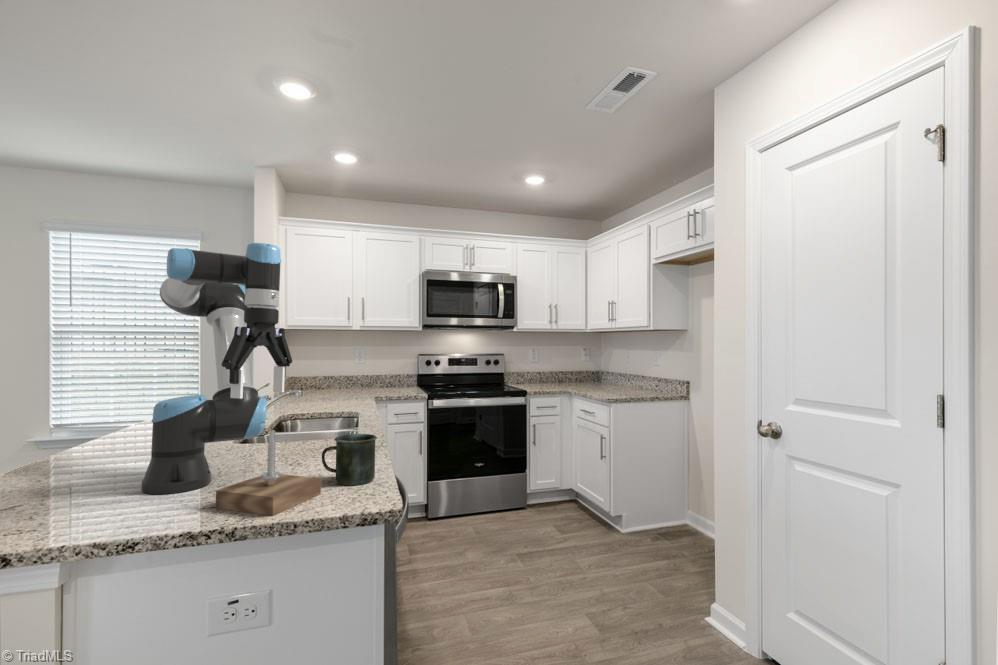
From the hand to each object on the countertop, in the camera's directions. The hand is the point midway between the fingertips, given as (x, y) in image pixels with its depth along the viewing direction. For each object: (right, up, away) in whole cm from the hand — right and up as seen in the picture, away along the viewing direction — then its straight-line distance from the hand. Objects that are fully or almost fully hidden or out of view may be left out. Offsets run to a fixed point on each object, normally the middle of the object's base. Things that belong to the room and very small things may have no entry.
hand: (258, 394), depth 113 cm
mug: (+17, -26, +15) cm, 35 cm away
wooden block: (+4, -25, -2) cm, 26 cm away
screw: (+4, -21, -1) cm, 22 cm away
